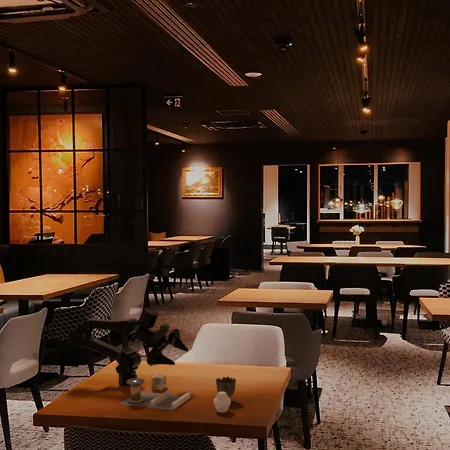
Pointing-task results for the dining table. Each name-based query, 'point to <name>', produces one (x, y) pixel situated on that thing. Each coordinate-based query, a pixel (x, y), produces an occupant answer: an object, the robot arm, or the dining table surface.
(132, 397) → the bobbin
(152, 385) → the block
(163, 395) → the board
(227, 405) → the muffin
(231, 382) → the cup
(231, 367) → the dining table surface
